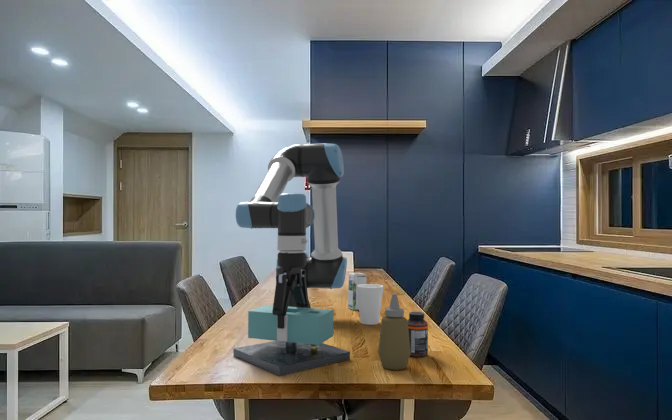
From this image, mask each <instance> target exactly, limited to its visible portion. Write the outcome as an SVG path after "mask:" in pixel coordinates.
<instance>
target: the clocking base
mask: <svg viewBox="0 0 672 420" xmlns="http://www.w3.org/2000/svg"><path fill="white" fill-rule="evenodd" d="M232 352H233V354H232V355H233V357H235V358H237V359H239V360H242V361H244V362H246V363H249V364H251V365H252V366H256V367H258V368H260V369H262V370H265V371H267V372H269V373H270V374H271V373H272V374H274V375H276V376H278V377H281V376H286V375H289V374H294V373H299V372H303V371H306V370H310V369H311V370H312V369H315V368H319V367H323V366H327V364H328V365H331V363H332V364H336V363H335V362H337V363H339V362H340V361H341V362H344V361H350V360H351V351H349V350H346V349H343V348H339V347H336V346H333V345H331V344H327V343H324V342H323V343H322V344H320V345H313V344H303V343H293V342H284V341H274V340H270V341H267V342H262V343H255V344H250V345H245V346H241V347H234V348H233V351H232ZM341 362H340V363H341Z"/></svg>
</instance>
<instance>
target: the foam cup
mask: <svg viewBox="0 0 672 420" xmlns="http://www.w3.org/2000/svg"><path fill="white" fill-rule="evenodd" d="M356 293H357V297H358V305H359V310H358V312H359V320H360V323H361V324H362V325H373V326H374V325H378V324H379V322H380V316H381V308H382V300H383V294H384V285H383V284H376V283H366V284H361V285H357V286H356Z"/></svg>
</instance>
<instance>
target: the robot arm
mask: <svg viewBox="0 0 672 420" xmlns="http://www.w3.org/2000/svg"><path fill="white" fill-rule="evenodd" d="M344 167H345V165H344V157H343V153H342V150H341V148H340V146H339V145H338V144H336V143H326V142H324V143H323V142H322V143H303V144H301V143H297V144H292V145H289V146H287V147H284V148H283V149H281V150H280V151H278V152H277V153H276V154H275V155H274V156H272V158H271V159H270V160H269V163H268V165H267V171H266V174H265V175H264V177H263V179H262V181H261V182H260V184H259V186H258V187H257V189H256V190H255V192H254V194H253V196H252V198H251V200H250V201H241V202H239V203H238V204H237V205H236V208H235V219H236V220H235V221H236V224H237V226H238V227H240V228H242V229H243V228H244V229H245V228H246V229H277V247H276V249H277V251H279V252H278V253H277V258H276V266H275V267H276V268H275V270H276V271H275V272H276V273H275V289H274V298H273V303H272V305H273V311H272V313H273V315H277V341H286V342H287V341H288V315H286V313H287V308H288V306H289V307H302V308H312V307H311V304H310V301H309V294H308V289H326V290H327V289H330V290H332V289H341V288H342V287H344V283H345V281H346V273H347V265H348V259H347V257H345V256H343V251H342V250H341V249H340V248H339V237H338V236H339V235H338V232H339V231H338V211H337V210H338V209H337V185H338V184H339V183H340V182H341V178H342V177H344V175H345V168H344ZM294 178H306V181H307V184H308V185H310V186H311V195H312V205H311V204H309V203H308V202H307V196H306V195H305V194H303V193H296V192H295V193H292V192H291V193H289V192H287V193H283V192H284V191H285V189H286V187H287V185H288V183H289V182H290V181H291V180H293V179H294ZM312 225H313V234H314V238H313V239H314V249H313V251H312V252H311V254H310V256H309V255H308V253H307V252H304V251H306V250H307V249H306V248H307V243H308V239H307V228H309V227H310V226H312Z"/></svg>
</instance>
